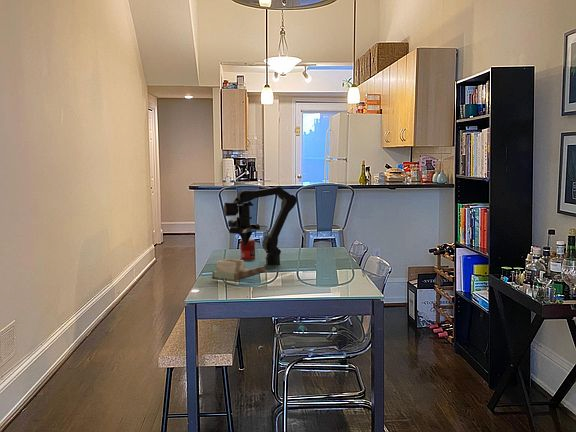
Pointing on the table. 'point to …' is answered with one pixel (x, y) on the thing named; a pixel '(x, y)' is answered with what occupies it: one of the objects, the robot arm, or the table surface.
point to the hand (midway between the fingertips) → (245, 245)
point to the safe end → (224, 276)
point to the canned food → (248, 249)
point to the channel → (247, 272)
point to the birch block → (230, 266)
